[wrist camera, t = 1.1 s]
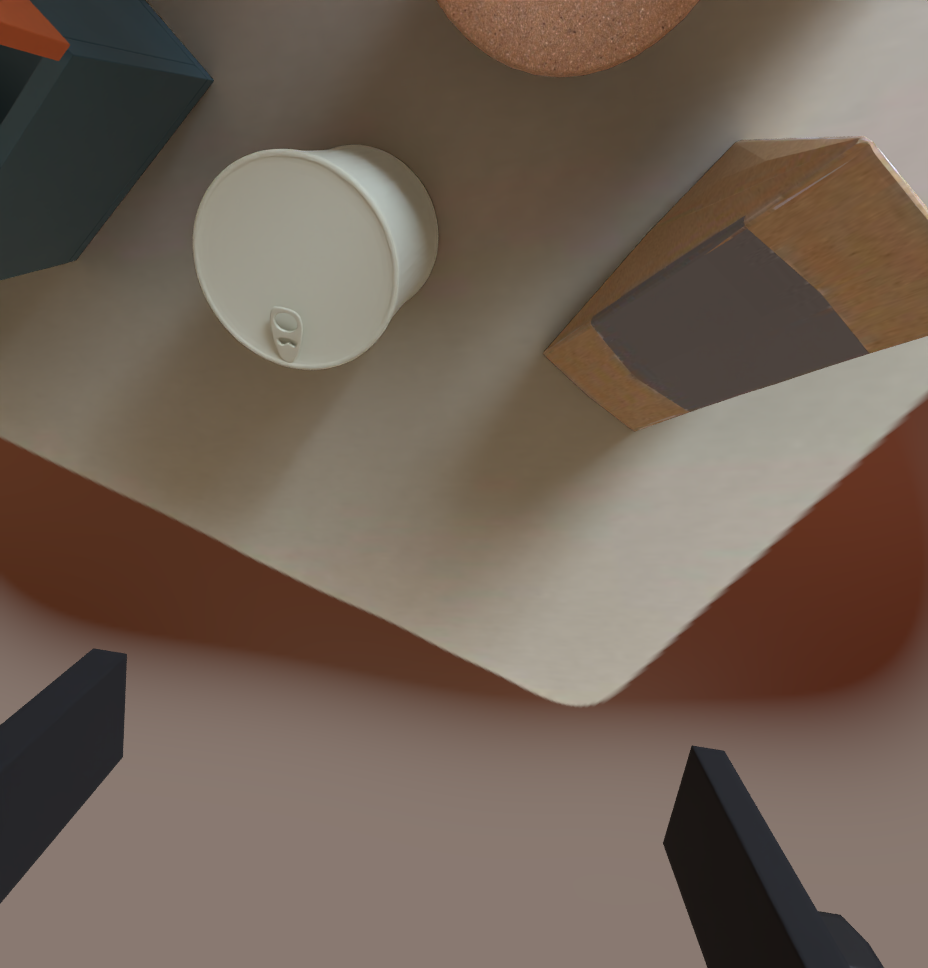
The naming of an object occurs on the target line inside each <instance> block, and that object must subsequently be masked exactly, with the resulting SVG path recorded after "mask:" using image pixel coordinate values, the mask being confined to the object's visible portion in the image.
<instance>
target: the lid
mask: <svg viewBox="0 0 928 968" xmlns="http://www.w3.org/2000/svg"><path fill="white" fill-rule="evenodd" d="M0 45H4V46H7V47H11V48H14V49H18V50H21V51H25V52H28V53H32V54H35V55H39V56H42V57H46V58H49V59H53V60H56V61H59V60H60V59H61V57H62V56H63V55H64V53H65V52H66V51H67V49H68V48H69V46H70V44H69V43H68V42H67V40H66V39H65V38H64V37H63V36H62V35H61V34H60V33H59V32H58V31H57V30H56V29H55V27H54V26H53V25H52V24H51V23H50V22H49V21H48V20H47V19H46V18H45V17H44V16H43V14H42V13H41V12H40V11H39V10H38V9H37V8H36V7H35V6H34V5H33V4H32V3H31V1H30V0H0Z"/></svg>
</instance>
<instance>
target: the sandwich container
mask: <svg viewBox="0 0 928 968" xmlns="http://www.w3.org/2000/svg"><path fill="white" fill-rule="evenodd" d="M925 336H928V208H927V207H926V205H925V204H924V203H923V202H922V201H921V199H920V198H919V197H918V196H917V194H916V193H915V192H914V191H913V190H912V188H911V187H910V186H909V185H908V184H907V182H906V181H905V180H904V179H903V177H902V176H901V175H900V174H899V173H898V171H897V170H896V169H895V168H894V167H893V165H892V164H891V163H890V162H889V161H888V159H887V158H886V157H885V156H884V154H883V153H882V152H881V151H880V150H879V148H878V147H877V146H876V145H875V144H874V142H873V141H871V140H869V139H868V138H866V137H865V136H848V137H817V138H787V139H759V140H740V141H738V142H736V143H734V144H733V145H732V147H731V148H730V149H729V150H728V151H727V152H726V153H725V154H724V155H723V156H722V157H721V158H720V159H719V160H718V161H717V162H716V163H715V164H714V165H713V166H712V167H711V168H710V169H709V170H708V171H707V172H706V174H705V175H704V176H703V177H702V178H701V179H700V180H699V181H698V182H697V183H696V184H695V185H694V186H693V187H692V188H691V189H690V190H689V191H688V192H687V193H686V194H685V195H684V196H683V197H682V198H681V199H680V200H679V202H678V203H677V204H676V205H675V206H674V207H673V208H672V209H671V210H670V211H669V212H668V213H667V214H666V215H665V216H664V217H663V218H662V219H661V220H660V221H659V222H658V223H657V224H656V225H655V226H654V227H653V229H652V230H651V231H650V232H649V233H648V234H647V235H646V236H645V237H644V238H643V239H642V241H641V242H640V243H639V244H638V245H637V246H636V247H635V249H634V250H633V251H632V252H631V253H630V254H629V255H628V257H627V258H626V259H625V260H624V261H623V262H622V263H621V265H620V266H619V267H618V268H617V269H616V270H615V271H614V273H613V274H612V275H611V276H610V277H609V278H608V279H607V281H606V282H605V283H604V284H603V285H602V286H601V287H600V289H599V290H598V291H597V292H596V293H595V294H594V295H593V297H592V298H591V299H590V300H589V301H588V302H587V303H586V305H585V306H584V307H583V308H582V309H581V310H580V311H579V312H578V314H577V315H576V316H575V317H574V318H573V319H572V320H571V322H570V323H569V324H568V325H567V326H566V327H565V328H564V330H563V331H562V332H561V333H560V334H559V335H558V336H557V338H556V339H555V340H554V341H553V342H552V343H551V344H550V346H549V347H548V348H547V349H546V350H545V351H544V352H543V354H544V355H545V356H546V357H547V358H548V359H549V360H550V361H551V362H552V363H553V364H554V365H555V366H556V367H558V368H559V369H560V370H561V371H562V372H563V373H564V374H565V375H566V376H567V377H568V378H569V379H570V380H572V381H573V382H574V383H575V384H576V385H577V386H578V387H579V388H580V389H581V390H582V391H583V392H584V393H585V394H587V395H588V396H589V397H590V398H591V399H593V400H594V401H595V402H597V403H598V404H599V405H600V406H602V407H603V408H604V409H606V410H607V411H608V412H610V413H611V414H612V415H613V416H615V417H616V418H617V419H619V420H620V421H621V422H622V423H624V424H625V425H626V426H628V427H629V428H630V429H632V430H633V431H637V430H640V429H643V428H646V427H649V426H652V425H654V424H657V423H660V422H663V421H666V420H669V419H671V418H674V417H677V416H680V415H683V414H685V413H688V412H691V411H694V410H697V409H700V408H703V407H706V406H709V405H712V404H715V403H718V402H721V401H724V400H727V399H730V398H733V397H735V396H738V395H741V394H745V393H748V392H751V391H754V390H757V389H761V388H764V387H767V386H770V385H773V384H777V383H780V382H783V381H786V380H789V379H792V378H795V377H798V376H801V375H804V374H807V373H810V372H813V371H816V370H819V369H822V368H825V367H828V366H831V365H834V364H838V363H841V362H844V361H847V360H850V359H853V358H857V357H860V356H863V355H866V354H869V353H873V352H876V351H879V350H882V349H886V348H889V347H892V346H896V345H899V344H902V343H906V342H909V341H912V340H916V339H919V338H922V337H925Z"/></svg>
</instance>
